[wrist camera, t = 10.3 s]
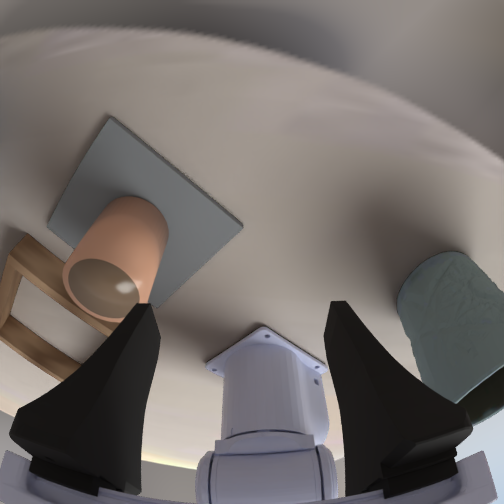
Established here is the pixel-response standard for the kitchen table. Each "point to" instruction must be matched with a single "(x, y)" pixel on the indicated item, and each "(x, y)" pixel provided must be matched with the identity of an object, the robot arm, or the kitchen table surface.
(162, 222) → the terracotta pot
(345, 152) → the kitchen table surface
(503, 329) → the green pot
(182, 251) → the slate mat
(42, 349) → the wooden square frame
